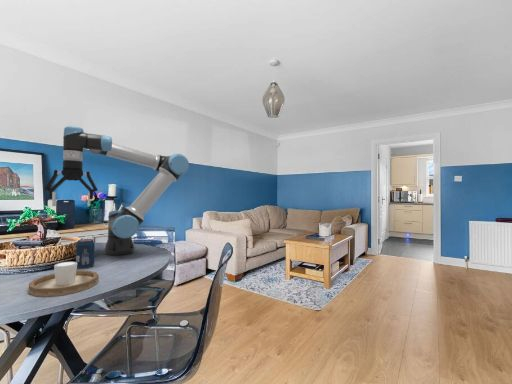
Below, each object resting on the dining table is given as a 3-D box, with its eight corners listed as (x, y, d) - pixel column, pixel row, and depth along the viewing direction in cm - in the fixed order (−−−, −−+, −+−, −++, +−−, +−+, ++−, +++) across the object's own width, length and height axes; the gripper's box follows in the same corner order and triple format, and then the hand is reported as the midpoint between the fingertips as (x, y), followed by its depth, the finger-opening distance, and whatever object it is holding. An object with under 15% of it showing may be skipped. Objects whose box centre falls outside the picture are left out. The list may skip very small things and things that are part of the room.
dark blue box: (87, 263, 122) (88, 238, 122) (97, 265, 119) (98, 239, 119) (72, 267, 116) (72, 240, 116) (82, 269, 113) (82, 242, 113)
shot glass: (64, 287, 91) (65, 267, 91) (48, 285, 92) (48, 265, 92) (81, 280, 97) (82, 262, 97) (66, 279, 99) (66, 260, 99)
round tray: (91, 273, 109) (91, 267, 109) (104, 286, 94) (104, 280, 94) (27, 284, 95) (27, 277, 95) (30, 301, 80) (31, 294, 80)
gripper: (36, 157, 113) (35, 206, 113) (102, 161, 123) (101, 206, 123) (42, 159, 120) (41, 205, 120) (104, 163, 130) (103, 205, 130)
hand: (71, 206), depth 122 cm, fingers open, 13 cm apart
